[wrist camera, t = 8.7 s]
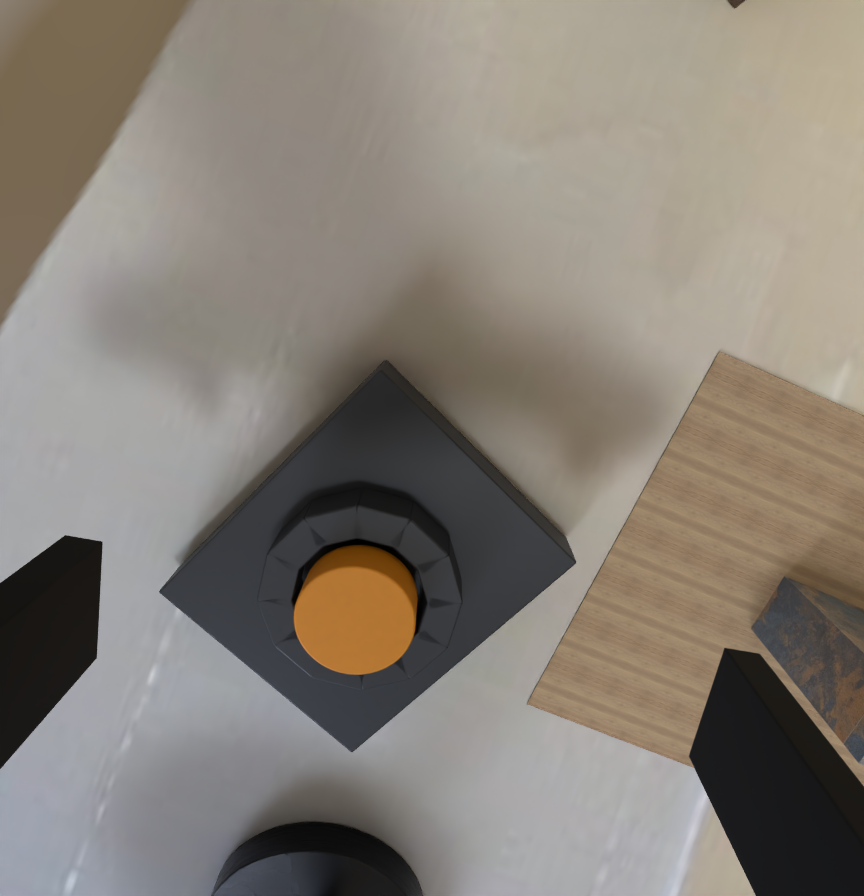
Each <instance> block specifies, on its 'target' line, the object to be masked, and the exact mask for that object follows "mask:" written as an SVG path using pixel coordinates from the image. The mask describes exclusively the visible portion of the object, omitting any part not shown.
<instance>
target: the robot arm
mask: <svg viewBox="0 0 864 896" xmlns="http://www.w3.org/2000/svg"><path fill="white" fill-rule="evenodd" d="M101 562H102V542H101V541H95V540H90V539H84V538H78V537H72V536H66V535H65V536H64V537H62V538H61V539H60V540H58V541H57V542H56V543H54V544H53V545H51V546H50V547H49V548H47V549H46V550H45V551H43V552H42V553H41V554H39V555H38V556H37V557H35V558H34V559H32V560H31V561H30V562H28V563H27V564H26V565H24V566H23V567H22V568H20V569H19V570H18V571H16V572H15V573H13V574H12V575H11V576H9V577H8V578H7V579H5V580H4V581H3V582H1V583H0V769H1V768H2V766H3V765H4V764H5V763H6V762H7V761H8V759H9V758H10V757H11V756H12V755H13V754H14V753H15V751H16V750H17V749H18V748H19V747H20V746H21V744H22V743H23V742H24V741H25V740H26V739H27V738H28V736H29V735H30V734H31V733H32V732H33V731H34V730H35V728H36V727H37V726H38V725H39V724H40V723H41V721H42V720H43V719H44V718H45V717H46V716H47V715H48V713H49V712H50V711H51V710H52V709H53V708H54V706H55V705H56V704H57V703H58V702H59V701H60V700H61V698H62V697H63V696H64V695H65V694H66V693H67V691H68V690H69V689H70V688H71V687H72V686H73V685H74V683H75V682H76V681H77V680H78V679H79V678H80V677H81V675H82V674H83V673H84V672H85V671H86V670H87V668H88V667H89V666H90V665H91V664H92V663H93V662H94V660H95V659H96V658H97V641H98V621H99V601H100V581H101ZM689 758H690V760H691V762H692V764H693V766H694V768H695V770H696V772H697V774H698V776H699V779H700V781H701V783H702V785H703V787H704V789H705V791H706V793H707V795H708V797H709V799H710V801H711V803H712V806H713V808H714V810H715V812H716V814H717V816H718V818H719V820H720V822H721V824H722V826H723V828H724V830H725V833H726V835H727V837H728V839H729V841H730V843H731V845H732V847H733V849H734V851H735V853H736V855H737V857H738V860H739V862H740V864H741V866H742V868H743V870H744V872H745V874H746V876H747V878H748V880H749V882H750V884H751V887H752V889H753V891H754V893H755V895H756V896H864V786H863V785H862V783H861V782H860V781H859V779H858V778H857V777H856V776H855V774H854V773H853V772H852V770H851V769H850V768H849V767H848V765H847V764H846V763H845V762H844V760H843V759H842V758H841V756H840V755H839V754H838V753H837V751H836V750H835V749H834V748H833V746H832V745H831V744H830V742H829V741H828V740H827V739H826V737H825V736H824V735H823V733H822V732H821V731H820V730H819V728H818V727H817V726H816V725H815V723H814V722H813V721H812V719H811V718H810V717H809V716H808V714H807V713H806V712H805V711H804V709H803V708H802V707H801V705H800V704H799V703H798V702H797V700H796V699H795V698H794V696H793V695H792V694H791V693H790V691H789V690H788V689H787V688H786V686H785V685H784V684H783V682H782V681H781V680H780V679H779V677H778V676H777V675H776V673H775V672H774V671H773V670H772V668H771V667H770V666H769V665H768V663H767V662H766V661H765V659H764V658H763V657H762V656H761V654H759V653H753V652H747V651H741V650H736V649H730V648H724V651H723V654H722V657H721V660H720V663H719V666H718V669H717V672H716V675H715V678H714V681H713V684H712V687H711V690H710V693H709V696H708V699H707V702H706V705H705V708H704V711H703V714H702V717H701V720H700V723H699V726H698V729H697V732H696V735H695V738H694V741H693V744H692V747H691V750H690V754H689Z"/></svg>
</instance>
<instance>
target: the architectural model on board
mask: <svg viewBox="0 0 864 896" xmlns="http://www.w3.org/2000/svg"><path fill="white" fill-rule="evenodd" d="M724 648H730V649H736V650H741V651H747V652H753V653H759V654H761V656H762V657H763V658H764V659H765V661H766V662H767V663H768V665H769V666H770V667H771V668H772V670H773V671H774V672H775V673H776V675H777V676H778V677H779V679H780V680H781V681H782V682H783V684H784V685H785V686H786V688H787V689H788V690H789V691H790V693H791V694H792V695H793V696H794V698H795V699H796V700H797V702H798V703H799V704H800V705H801V707H802V708H803V709H804V711H805V712H806V713H807V714H808V716H809V717H810V718H811V719H812V721H813V722H814V723H815V725H816V726H817V727H818V728H819V730H820V731H821V732H822V733H823V735H824V736H825V737H826V739H827V740H828V741H829V742H830V744H831V745H832V746H833V748H834V749H835V750H836V751H837V753H838V754H839V755H840V756H841V758H842V759H843V760H844V762H845V763H846V764H847V765H848V767H849V768H850V769H851V770H852V772H853V773H854V774H855V776H856V777H857V778H858V779H859V781H860V782H861V783H862V785H863V786H864V416H862V415H860V414H858V413H856V412H854V411H851V410H849V409H847V408H845V407H842V406H840V405H838V404H836V403H833V402H831V401H829V400H827V399H824V398H822V397H820V396H818V395H815V394H813V393H811V392H809V391H807V390H804V389H802V388H800V387H798V386H795V385H793V384H791V383H789V382H786V381H784V380H782V379H780V378H777V377H775V376H773V375H771V374H768V373H766V372H764V371H762V370H760V369H757V368H755V367H753V366H751V365H748V364H746V363H744V362H742V361H739V360H737V359H735V358H733V357H730V356H728V355H726V354H724V353H722V352H719V353H718V355H717V357H716V359H715V360H714V362H713V364H712V366H711V368H710V370H709V371H708V373H707V375H706V377H705V379H704V381H703V382H702V384H701V386H700V388H699V390H698V392H697V393H696V395H695V397H694V399H693V401H692V403H691V404H690V406H689V408H688V410H687V412H686V414H685V415H684V417H683V419H682V421H681V423H680V425H679V426H678V428H677V430H676V432H675V434H674V436H673V437H672V439H671V441H670V443H669V445H668V446H667V448H666V450H665V452H664V454H663V456H662V457H661V459H660V461H659V463H658V465H657V467H656V468H655V470H654V472H653V474H652V476H651V478H650V479H649V481H648V483H647V485H646V487H645V489H644V490H643V492H642V494H641V496H640V498H639V500H638V501H637V503H636V505H635V507H634V509H633V511H632V512H631V514H630V516H629V518H628V520H627V522H626V523H625V525H624V527H623V529H622V531H621V533H620V534H619V536H618V538H617V540H616V542H615V544H614V545H613V547H612V549H611V551H610V553H609V555H608V556H607V558H606V560H605V562H604V564H603V565H602V567H601V569H600V571H599V573H598V575H597V576H596V578H595V580H594V582H593V584H592V586H591V587H590V589H589V591H588V593H587V595H586V597H585V598H584V600H583V602H582V604H581V606H580V608H579V609H578V611H577V613H576V615H575V617H574V619H573V620H572V622H571V624H570V626H569V628H568V630H567V631H566V633H565V635H564V637H563V639H562V641H561V642H560V644H559V646H558V648H557V650H556V652H555V653H554V655H553V657H552V659H551V661H550V663H549V664H548V666H547V668H546V670H545V672H544V673H543V675H542V677H541V679H540V681H539V683H538V684H537V686H536V688H535V690H534V692H533V694H532V695H531V697H530V699H529V701H528V703H527V704H528V705H531V706H534V707H536V708H539V709H542V710H544V711H547V712H549V713H552V714H555V715H557V716H560V717H563V718H565V719H568V720H570V721H573V722H576V723H578V724H581V725H584V726H586V727H589V728H591V729H594V730H597V731H599V732H602V733H604V734H607V735H610V736H612V737H615V738H618V739H620V740H623V741H625V742H628V743H631V744H633V745H636V746H639V747H641V748H644V749H646V750H649V751H652V752H654V753H657V754H660V755H662V756H665V757H667V758H670V759H673V760H675V761H678V762H681V763H683V764H686V765H688V766H691V767H694V766H693V764H692V762H691V760H690V758H689V754H690V750H691V747H692V744H693V741H694V738H695V735H696V732H697V729H698V726H699V723H700V720H701V717H702V714H703V711H704V708H705V705H706V702H707V699H708V696H709V693H710V690H711V687H712V684H713V681H714V678H715V675H716V672H717V669H718V666H719V663H720V660H721V657H722V654H723V651H724Z"/></svg>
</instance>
